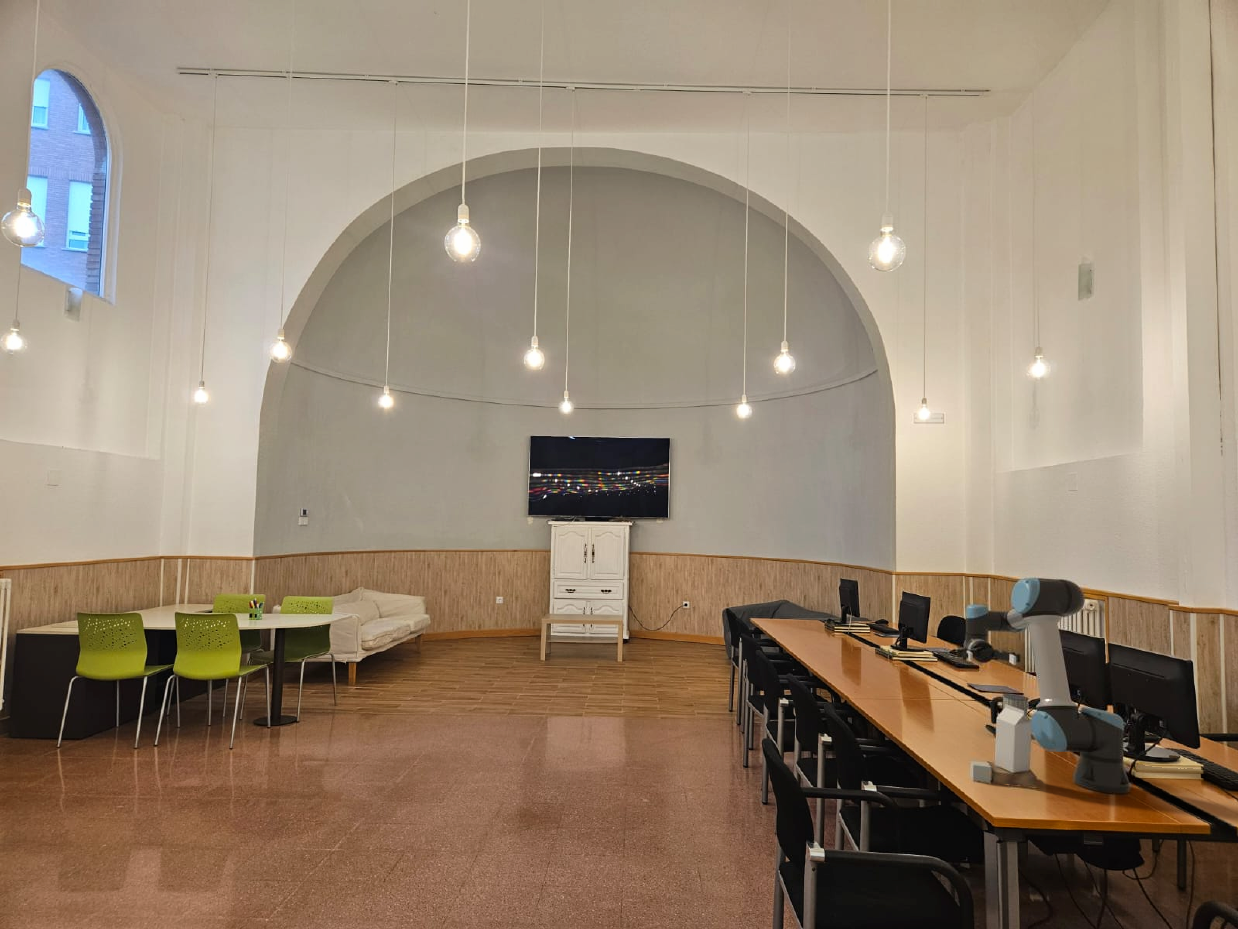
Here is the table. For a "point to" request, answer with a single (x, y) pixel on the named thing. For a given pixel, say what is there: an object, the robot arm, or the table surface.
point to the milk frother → (1007, 699)
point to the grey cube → (980, 771)
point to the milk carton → (1013, 740)
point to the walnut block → (1012, 776)
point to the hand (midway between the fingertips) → (992, 659)
